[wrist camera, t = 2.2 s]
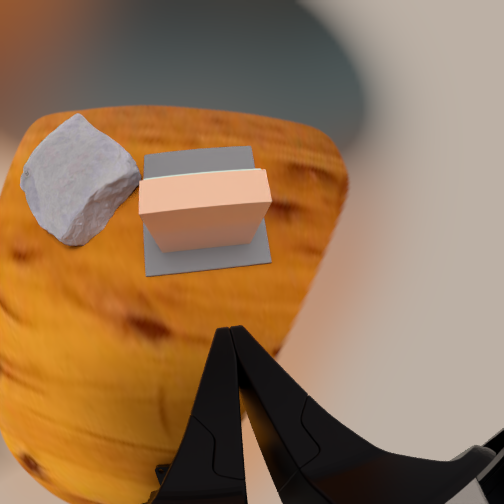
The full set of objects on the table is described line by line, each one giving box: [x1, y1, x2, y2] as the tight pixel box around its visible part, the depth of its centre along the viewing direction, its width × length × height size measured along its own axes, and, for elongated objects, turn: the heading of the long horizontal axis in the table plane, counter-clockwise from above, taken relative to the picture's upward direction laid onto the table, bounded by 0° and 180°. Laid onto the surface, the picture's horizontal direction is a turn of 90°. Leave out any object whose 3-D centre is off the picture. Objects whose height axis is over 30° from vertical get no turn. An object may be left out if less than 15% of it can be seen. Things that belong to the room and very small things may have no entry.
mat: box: [143, 146, 271, 277], centre depth 22 cm, size 11×10×1 cm
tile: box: [139, 169, 272, 253], centre depth 18 cm, size 2×7×8 cm, turn 99°
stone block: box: [20, 113, 141, 246], centre depth 20 cm, size 12×5×10 cm
